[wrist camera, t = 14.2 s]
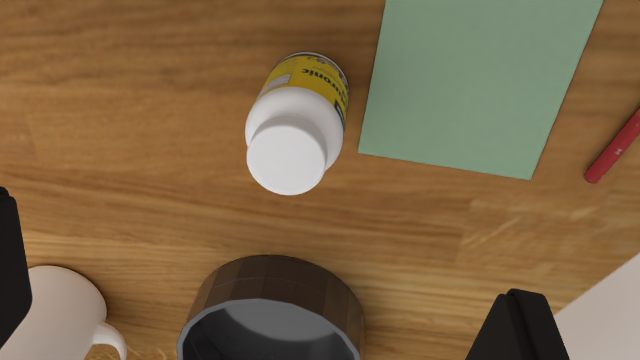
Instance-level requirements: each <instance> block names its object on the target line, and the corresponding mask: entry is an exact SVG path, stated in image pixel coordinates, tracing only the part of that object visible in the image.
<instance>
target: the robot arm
mask: <svg viewBox="0 0 640 360" xmlns="http://www.w3.org/2000/svg"><path fill="white" fill-rule="evenodd" d="M32 300H33V297H32V290H31V284H30V278H29V273H28V267H27V261H26V255H25V250H24V244H23V238H22V232H21V227H20V221H19V215H18V209H17V204H16V200H15V199H14V198H13V197H11V196H9V193H8V191H7V190H6V189H5V188H4V187H1V186H0V350H1V348H2V347H3V346H4V344H5V343H6V342H7V340H8V339H9V338H10V337H11V335H12V334H13V333H14V331H15V330H16V329H17V327H18V326H19V325H20V323H21V322H22V321H23V320H24V318H25V317H26V316H27V314H28V312H29V310H30V308H31V305H32ZM465 360H570V359H569V356H568V354H567V351H566V348H565V346H564V343H563V341H562V338H561V336H560V333H559V331H558V328H557V325H556V322H555V320H554V317H553V315H552V312H551V310H550V307H549V304H548V302H547V300H546V298H545V296H544V295H542V294H539V293H534V292H529V291H524V290H519V289H510V290H509V291H508V292H507V294H506V295H505V294H499V295H498V296H497V298H496V300H495V302H494V304H493V306H492V308H491V310H490V312H489V314H488V316H487V318H486V320H485V322H484V323H483V325H482V327H481V329H480V331H479V333H478V335H477V337H476V339H475V341H474V343H473V345H472V347H471V349H470V351H469V353H468V355H467V357H466V359H465Z"/></svg>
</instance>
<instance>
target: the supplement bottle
mask: <svg viewBox="0 0 640 360" xmlns="http://www.w3.org/2000/svg"><path fill="white" fill-rule="evenodd" d="M348 99H349V89H348V84H347V81H346V78H345V76H344V74H343V72H342V71H341V69H340V68H339V67H338V66H337V65H336V64H335V63H334V62H333V61H331V60H330V59H328V58H327V57H325V56H323V55H320V54H317V53H311V52H301V53H296V54H293V55H290V56H288V57H286V58H284V59H283V60H281V61H280V62H279V63H278V64H277V65H276V66H275V67H274V69H273V70H272V71H271V73H270V75H269V77H268V78H267V80H266V82H265V84H264V86H263V88H262V90H261V92H260V94H259V95H258V97H257V99H256V101H255V103H254V105H253V107H252V109H251V111H250V113H249V115H248V118H247V121H246V127H245V138H246V143H247V146H248V150H247V164H248V167H249V170H250V172H251V174H252V176H253V177H254V178H255V180H256V181H257V182H258V183H259V184H260V185H262V186H263V187H264V188H266V189H268V190H270V191H272V192H274V193H278V194H282V195H297V194H301V193H304V192H307V191H309V190H310V189H312V188H313V187H314V186H316V185H317V184H318V182H319V181H320V180H321V178H322V176H323V174H324V172H325V170H327V169H328V168H329V167H330V166H331V165H332V164H333V163H334V162H335V160H336V159H337V157H338V155H339V153H340V150H341V147H342V144H343V139H344V131H345V123H346V116H347V108H348Z"/></svg>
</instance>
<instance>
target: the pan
mask: <svg viewBox="0 0 640 360" xmlns="http://www.w3.org/2000/svg"><path fill="white" fill-rule="evenodd" d="M177 360H365V325H364V316H363V311H362V309H361V306H360V304H359V302H358V300H357V299H356V297H355V295H354V294H353V293H352V292H351V290H350V289H349V288H348V287H347V286H346V285H345V284H344V283H343V282H342V281H341V280H340V279H338V278H337V277H336V276H334V275H333V274H331V273H330V272H328V271H326V270H325V269H323V268H321V267H319V266H316V265H314V264H312V263H309V262H306V261H303V260H300V259H296V258H291V257H286V256H278V255H259V256H250V257H245V258H241V259H238V260H235V261H232V262H229V263H227V264H225V265H223V266H221V267H220V268H218V269H217V270H216V271H214V272H213V273H212V274H211V275H210V276H209V277H208V278H207V279H206V280H205V281H204V283H203V284H202V286H201V288H200V290H199V292H198V294H197V296H196V298H195V300H194V302H193V305H192V307H191V309H190V312H189V314H188V317H187V319H186V321H185V324H184V326H183V328H182V331H181V333H180V335H179V338H178V340H177Z"/></svg>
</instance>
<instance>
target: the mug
mask: <svg viewBox="0 0 640 360" xmlns="http://www.w3.org/2000/svg"><path fill="white" fill-rule="evenodd" d="M28 273H29V278H30V284H31V290H32V297H33V300H32V305H31V308H30V310H29V312H28V314H27V316H26V317H25V318H24V320H23V321H22V322H21V323H20V325H19V326H18V327H17V329H16V330H15V331H14V333H13V334H12V335H11V337H10V338H9V339H8V340H7V342H6V343H5V344H4V346H3V347H2V348H1V350H0V360H84V358H85V356H86V354H87V353H88V351H89V349H90V348H91V346H92V345H93V344H110V345H112V346H114V347H116V349H117V350H118V352H119V354H120V360H126V357H127V346H126V342H125V339H124V338H123V336H122V335H121V333H120V332H119V331H118V330H116V329H115V328H114V327H112V326H111V325H109V324H107V323H105V319H106V315H107V310H106V304H105V301H104V298H103V296H102V295H101V293H100V292H99V290H98V289H97V288H96V287H95V286H94V285H93V284H92V283H91V282H90V281H89V280H88V279H86V278H85V277H83V276H82V275H80V274H78V273H76V272H74V271H72V270H69V269H66V268H62V267H58V266H48V265H45V266H36V267H33V268H30V269H28Z"/></svg>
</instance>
